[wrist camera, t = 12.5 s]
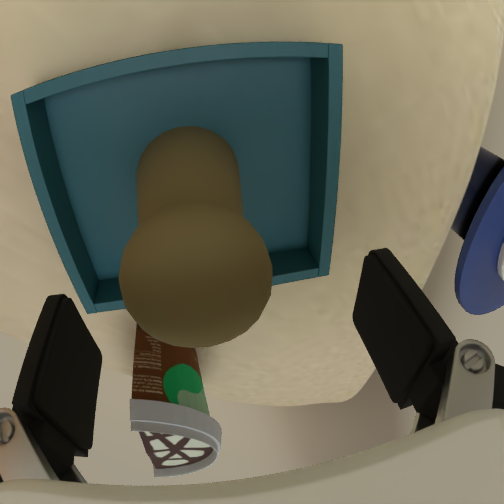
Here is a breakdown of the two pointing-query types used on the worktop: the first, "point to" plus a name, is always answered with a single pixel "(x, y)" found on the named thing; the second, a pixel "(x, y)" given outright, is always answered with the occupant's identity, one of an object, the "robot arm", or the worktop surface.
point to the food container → (171, 408)
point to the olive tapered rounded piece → (193, 244)
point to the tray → (180, 115)
